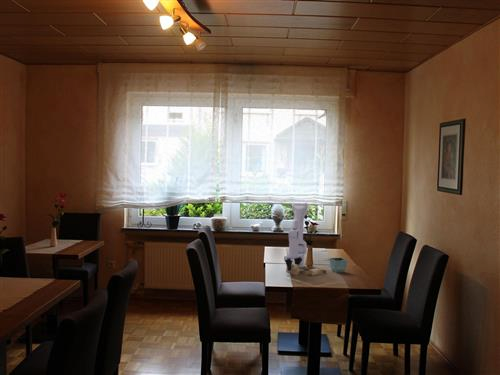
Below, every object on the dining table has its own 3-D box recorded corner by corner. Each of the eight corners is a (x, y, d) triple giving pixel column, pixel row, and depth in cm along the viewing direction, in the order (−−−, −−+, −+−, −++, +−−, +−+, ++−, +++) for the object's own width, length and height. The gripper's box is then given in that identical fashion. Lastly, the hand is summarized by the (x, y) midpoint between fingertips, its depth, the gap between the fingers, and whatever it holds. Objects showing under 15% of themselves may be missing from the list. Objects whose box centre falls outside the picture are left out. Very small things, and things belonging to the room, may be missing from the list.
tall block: (296, 275, 296) (296, 265, 296) (286, 272, 303) (286, 262, 303) (298, 274, 298) (299, 265, 297) (289, 271, 305) (289, 262, 304)
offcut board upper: (309, 272, 299) (309, 270, 299) (316, 270, 304) (316, 268, 304) (314, 273, 296) (314, 271, 296) (321, 271, 302) (321, 269, 302)
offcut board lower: (306, 273, 299) (306, 271, 299) (317, 271, 305) (317, 270, 305) (311, 275, 295) (311, 273, 295) (322, 273, 301) (323, 271, 301)
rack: (294, 273, 304) (294, 268, 304) (310, 270, 313) (310, 266, 313) (310, 277, 293) (310, 272, 293) (326, 274, 302) (326, 270, 302)
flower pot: (334, 274, 303) (335, 260, 303) (328, 271, 312) (329, 257, 311) (347, 274, 306) (347, 260, 305) (341, 271, 314) (341, 257, 314)
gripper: (289, 250, 292) (288, 272, 292) (306, 248, 301) (305, 269, 301) (281, 248, 297) (281, 270, 298) (298, 246, 306) (297, 267, 307)
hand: (293, 270), depth 300 cm, fingers open, 6 cm apart
